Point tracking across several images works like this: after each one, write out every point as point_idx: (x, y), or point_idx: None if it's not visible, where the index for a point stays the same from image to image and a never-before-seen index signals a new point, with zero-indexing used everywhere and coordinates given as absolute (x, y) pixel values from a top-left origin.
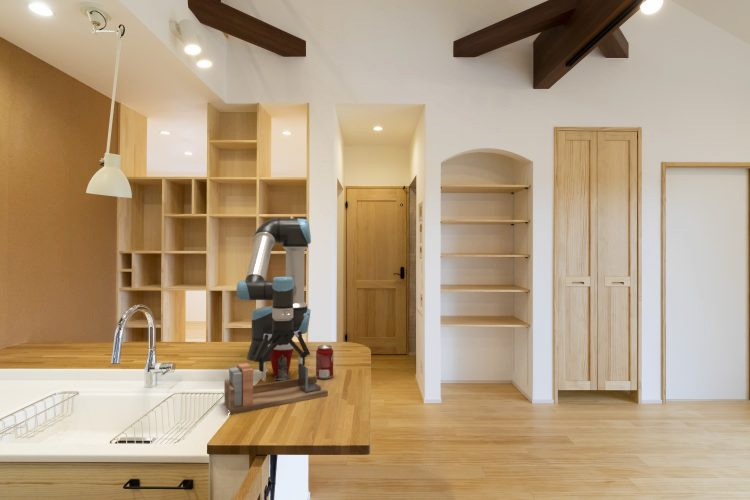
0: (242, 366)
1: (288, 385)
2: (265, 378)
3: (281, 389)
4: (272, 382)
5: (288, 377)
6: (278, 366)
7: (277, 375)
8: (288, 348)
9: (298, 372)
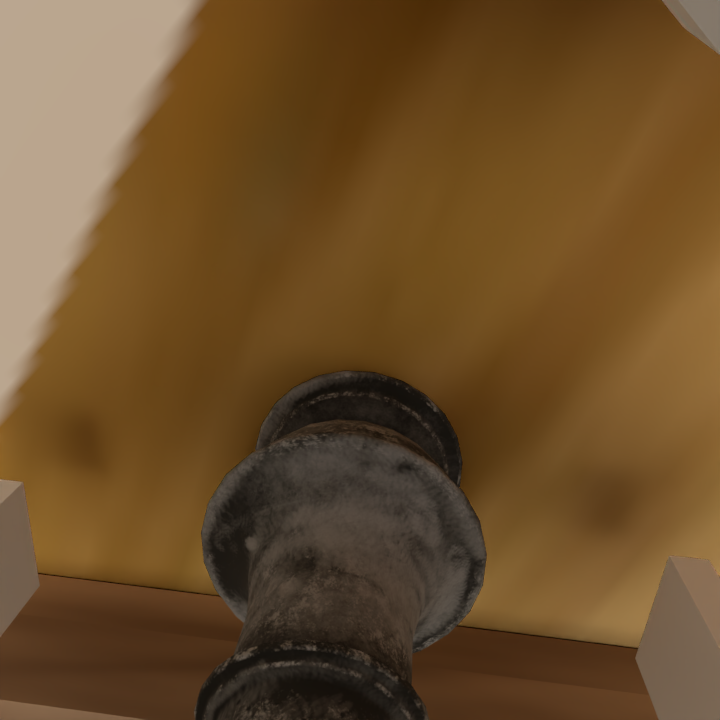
0: None
1: None
2: (9, 619)
3: None
4: (109, 716)
5: (415, 636)
6: (220, 706)
7: (255, 544)
8: None
9: (672, 604)
